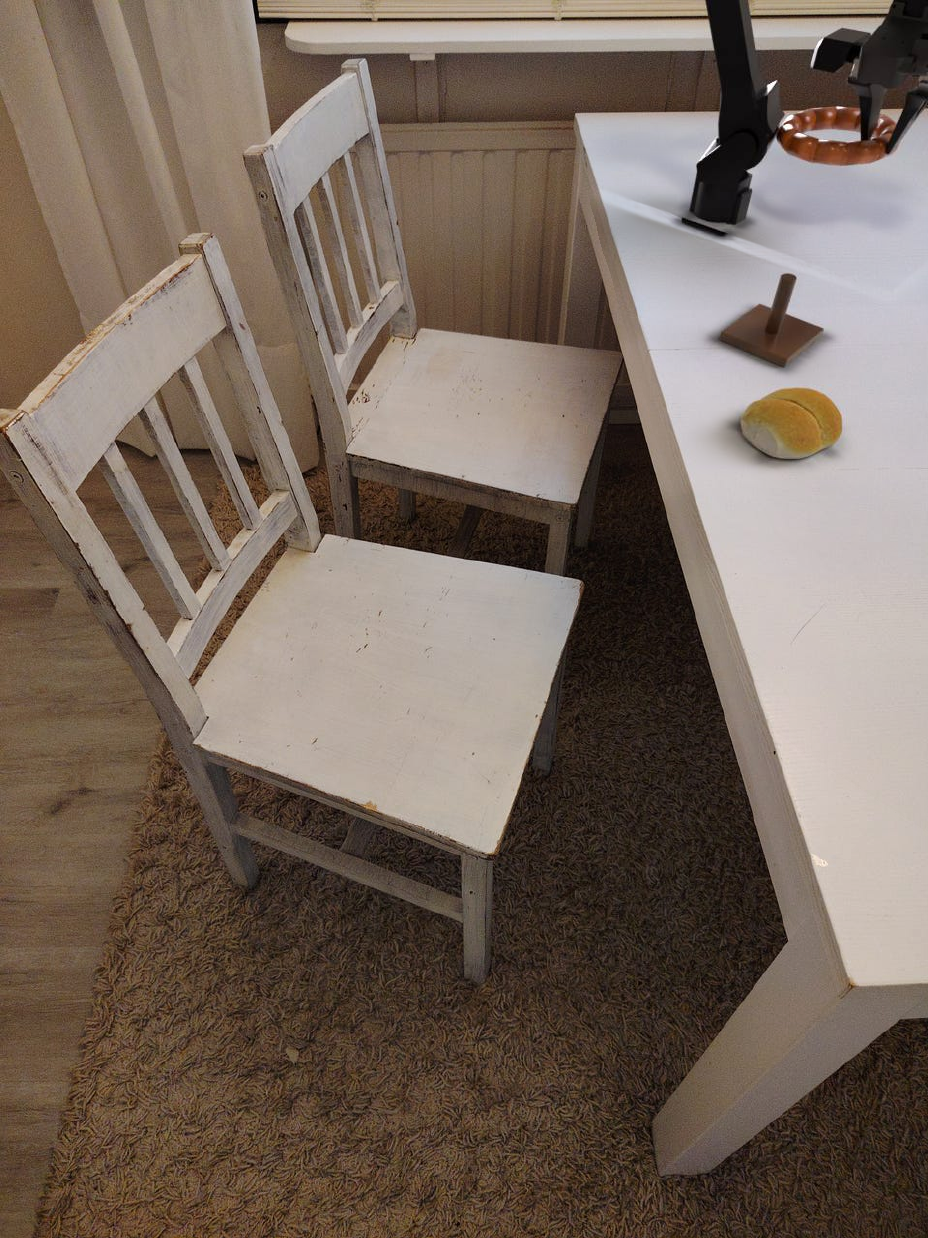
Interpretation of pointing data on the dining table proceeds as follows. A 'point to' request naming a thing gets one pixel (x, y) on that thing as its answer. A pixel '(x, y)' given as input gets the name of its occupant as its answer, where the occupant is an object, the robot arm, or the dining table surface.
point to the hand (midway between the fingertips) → (876, 150)
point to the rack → (773, 329)
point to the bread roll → (792, 423)
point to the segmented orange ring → (834, 151)
